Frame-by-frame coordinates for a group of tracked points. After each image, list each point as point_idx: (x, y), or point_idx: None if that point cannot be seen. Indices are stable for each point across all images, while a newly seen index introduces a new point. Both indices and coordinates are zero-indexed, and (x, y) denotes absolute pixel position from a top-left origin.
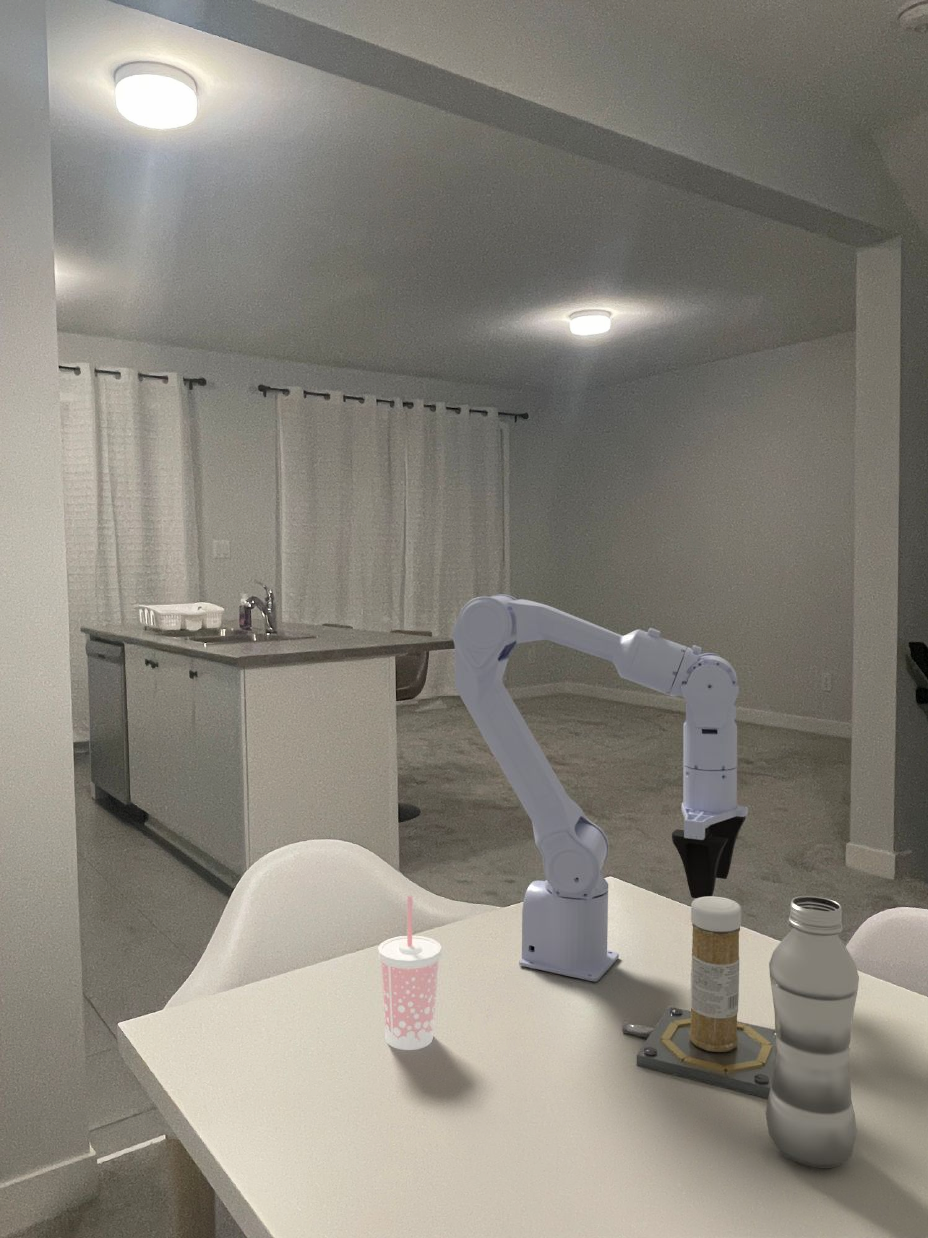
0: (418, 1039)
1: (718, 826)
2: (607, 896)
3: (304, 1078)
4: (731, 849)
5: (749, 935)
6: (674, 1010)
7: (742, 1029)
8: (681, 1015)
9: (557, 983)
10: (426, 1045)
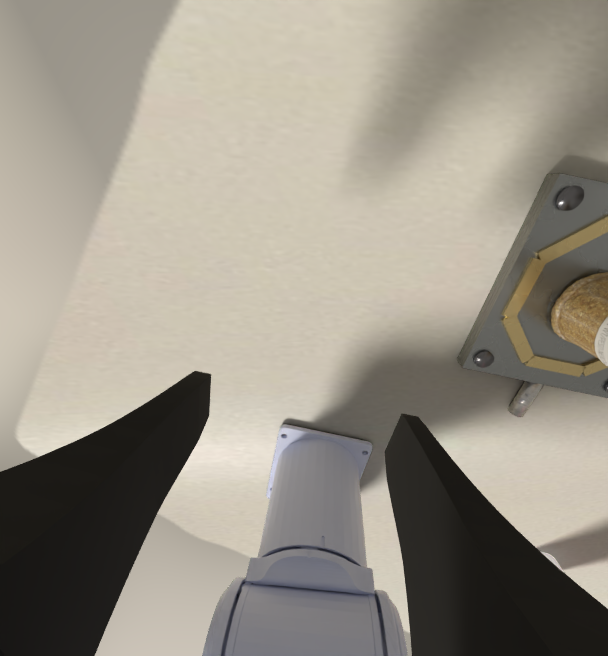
0: (561, 568)
1: (81, 587)
2: (316, 537)
3: None
4: (151, 435)
5: (99, 243)
6: (485, 362)
7: (544, 263)
8: (493, 351)
9: (379, 474)
10: (549, 554)
